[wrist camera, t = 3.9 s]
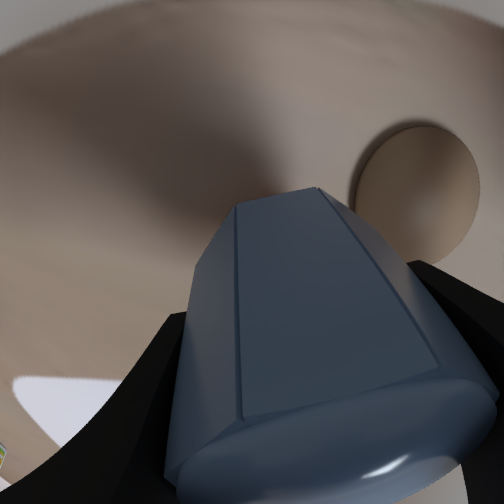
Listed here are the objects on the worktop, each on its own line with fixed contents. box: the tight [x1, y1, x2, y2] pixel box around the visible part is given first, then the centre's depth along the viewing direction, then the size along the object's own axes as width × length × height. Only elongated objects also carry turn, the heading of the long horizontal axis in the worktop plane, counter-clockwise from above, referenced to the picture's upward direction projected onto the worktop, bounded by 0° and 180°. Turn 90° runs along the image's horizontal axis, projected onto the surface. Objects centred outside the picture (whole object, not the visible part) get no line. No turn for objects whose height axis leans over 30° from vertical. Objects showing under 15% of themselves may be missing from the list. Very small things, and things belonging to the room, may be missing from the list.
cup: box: [164, 187, 500, 504], centre depth 7 cm, size 6×6×7 cm
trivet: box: [354, 126, 480, 265], centre depth 13 cm, size 7×7×1 cm
